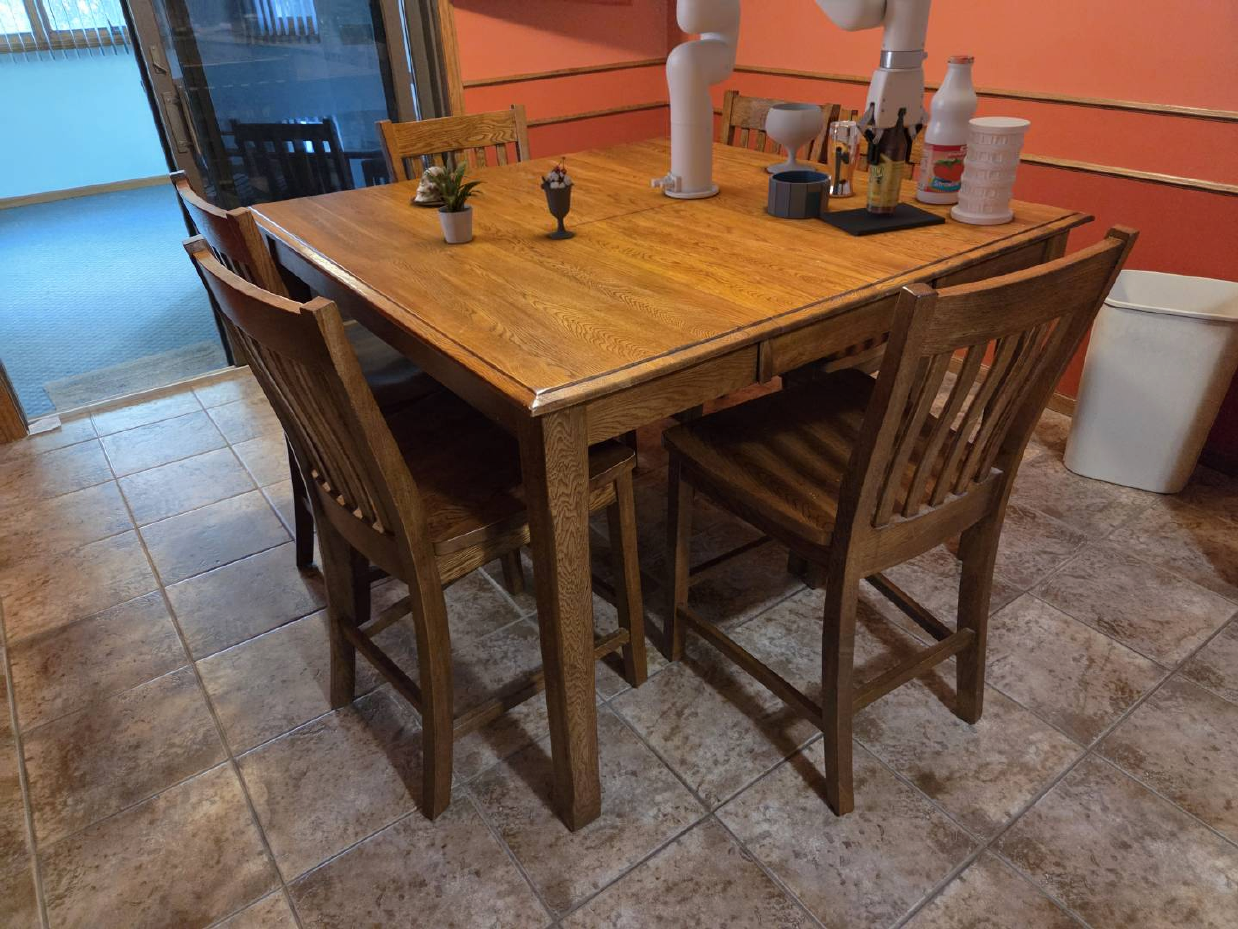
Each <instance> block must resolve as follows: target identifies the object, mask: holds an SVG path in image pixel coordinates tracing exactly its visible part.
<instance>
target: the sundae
mask: <svg viewBox="0 0 1238 929" xmlns="http://www.w3.org/2000/svg"><path fill="white" fill-rule="evenodd" d="M566 159H567V157H566V156H562V157H561V161H560V162H559V163H558V165H555V166H554V167H553V168H552V170H550V171H549V172H548V173H547V175H546V178H545V176H544V175H542V176H541V180H542V182H543V183H541V184H540V189H541V190H542V191H544V194H545V198H546V202H547V207H548V211H549V213H550V214H551V215H552V216H553V217H554V218H555V219H556V220H557V229H556V231H554V232H551V233H550V234H549V238H551V239H553V240H563V239H564V240H566V239H570V238H572V237H574V232H572V231H568V230H567V229H566V227H565V223H564V219H565V218H566V216H568V214H569V213H570V210H571V195H572V188H573V186H574V185H575V183H573V182H572V179H571V178H570V176H569V175H568V174H567V173H568V171H567V169H565V164H564V161H565V160H566ZM561 163H562V168H560V165H561Z"/></svg>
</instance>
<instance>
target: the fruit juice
mask: <svg viewBox="0 0 1238 929" xmlns="http://www.w3.org/2000/svg"><path fill="white" fill-rule="evenodd" d="M974 63H975V56H973V55H968V54H967V55H965V54H963V55H962V54H961V55H960V54H959V55H958V54H957V55H950V56H949V57H948V58H947V63H946V64H947V67H948V68H947V71H946V74H945V76H944V79H943V81H942V82H941V85H940V87H939V89H938V90H937V91H936V92H935V94H933V96H932V98H931V100H930V105H929V116H930V119H929V121H928V124H927V126H926V129H925V133H924V138H923V146H922V152H921V159H920V166H919V172H918V179H917V186H916V193H915V196H916V197H915V198H916V199H917V201H919V202H921V203H925V204H931V205H951V204H956V203H958V201H959V198H958V192H959V190H960V189H961V184H962V182H961V175H962V173H963V172H964V167H965V165H964V159H965V156H967V150H968V148H967V141H968V139H970V133H971V131H970V130H969V129H968V124H969V120H971V119H974V116H975V114H976V112H977V109H978V104H979V103H978V102H979V100H978V96H977V93H976V91H975V88H974V84H973V77H972V67H973V65H974Z"/></svg>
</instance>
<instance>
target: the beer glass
mask: <svg viewBox="0 0 1238 929" xmlns="http://www.w3.org/2000/svg"><path fill="white" fill-rule="evenodd" d="M857 122H858V121H856V120H837V121H836V120H835V121H832V122H831V123H830V124H829V130H828V138H827V148H826V150H827V151H826V152H827V168H828V174H829V175H831V182H830V193H829V197H832V198H847V197H852V196H853V194H854V188H853V181H854V180H853V178H854V173H855V169H856V165H857V162H858V158H859V154H860V148H861V140H862V134H861V132H860V131H859V129H858V128H857V127H856V123H857Z"/></svg>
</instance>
